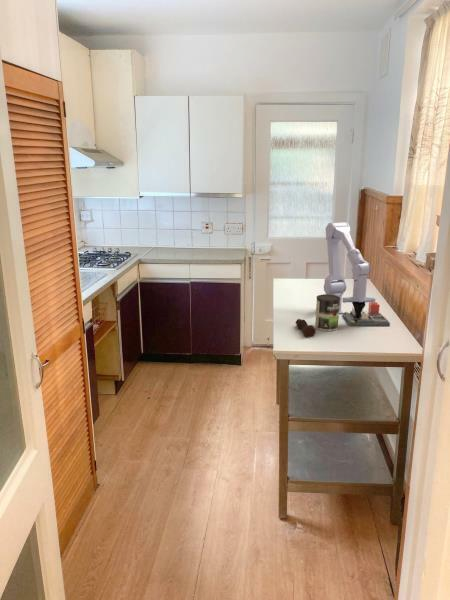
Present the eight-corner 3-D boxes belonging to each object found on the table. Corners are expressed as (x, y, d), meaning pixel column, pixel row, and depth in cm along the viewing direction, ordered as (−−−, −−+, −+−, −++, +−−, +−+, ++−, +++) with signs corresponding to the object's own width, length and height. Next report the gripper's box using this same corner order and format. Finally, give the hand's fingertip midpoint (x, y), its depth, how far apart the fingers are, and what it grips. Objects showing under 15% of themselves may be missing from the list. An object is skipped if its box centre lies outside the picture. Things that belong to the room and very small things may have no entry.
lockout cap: (370, 314, 235) (371, 303, 233) (368, 312, 239) (369, 301, 237) (378, 314, 235) (379, 303, 233) (376, 312, 239) (377, 301, 237)
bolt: (300, 329, 220) (311, 340, 205) (291, 325, 218) (301, 335, 204) (306, 318, 219) (318, 328, 204) (297, 314, 218) (308, 323, 203)
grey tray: (349, 325, 219) (350, 320, 218) (342, 315, 233) (342, 310, 232) (389, 326, 218) (390, 320, 218) (379, 315, 233) (380, 311, 232)
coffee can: (343, 328, 215) (345, 298, 211) (324, 332, 210) (326, 301, 206) (328, 322, 224) (329, 293, 220) (310, 325, 219) (311, 295, 215)
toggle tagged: (361, 320, 220) (362, 313, 219) (358, 317, 225) (359, 310, 224) (368, 320, 220) (368, 313, 219) (365, 317, 225) (365, 310, 224)
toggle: (354, 316, 226) (355, 309, 225) (351, 313, 231) (352, 306, 230) (360, 316, 226) (361, 309, 225) (358, 313, 231) (358, 306, 230)
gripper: (345, 291, 215) (343, 320, 218) (378, 291, 215) (375, 320, 218) (342, 287, 222) (340, 315, 225) (373, 287, 221) (371, 315, 225)
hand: (357, 317), depth 222 cm, fingers closed
